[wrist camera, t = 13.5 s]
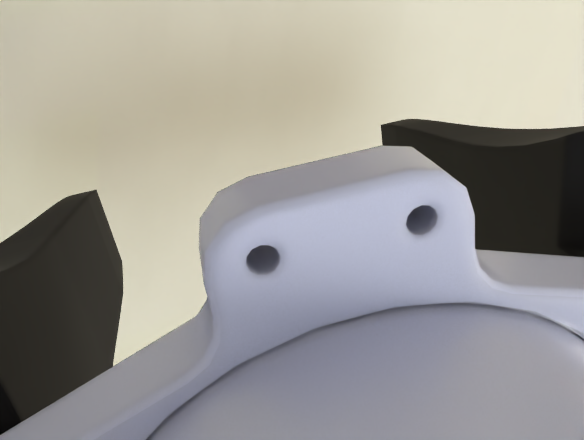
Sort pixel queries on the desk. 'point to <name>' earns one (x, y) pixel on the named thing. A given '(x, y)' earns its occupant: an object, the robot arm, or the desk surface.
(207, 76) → the desk surface
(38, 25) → the desk surface
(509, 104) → the desk surface
